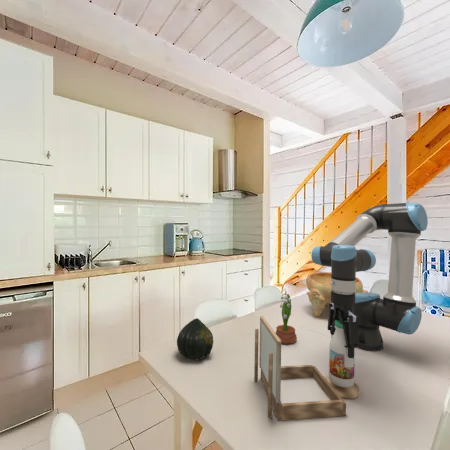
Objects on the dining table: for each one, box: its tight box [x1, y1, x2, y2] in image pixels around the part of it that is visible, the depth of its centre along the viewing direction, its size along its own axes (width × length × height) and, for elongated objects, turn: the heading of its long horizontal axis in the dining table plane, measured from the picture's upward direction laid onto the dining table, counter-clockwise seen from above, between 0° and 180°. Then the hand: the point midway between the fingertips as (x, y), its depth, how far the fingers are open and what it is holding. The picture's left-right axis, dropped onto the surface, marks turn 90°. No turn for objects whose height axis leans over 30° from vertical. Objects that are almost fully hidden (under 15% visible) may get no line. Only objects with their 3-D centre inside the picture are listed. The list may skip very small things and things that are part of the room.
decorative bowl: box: [305, 271, 370, 318], centre depth 164 cm, size 34×35×23 cm
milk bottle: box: [328, 320, 356, 387], centre depth 88 cm, size 8×8×20 cm
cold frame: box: [260, 364, 347, 421], centre depth 85 cm, size 20×20×4 cm
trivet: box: [324, 376, 361, 400], centre depth 89 cm, size 11×11×1 cm
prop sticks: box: [253, 328, 273, 419], centre depth 83 cm, size 1×18×18 cm, turn 6°
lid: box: [258, 315, 282, 405], centre depth 84 cm, size 1×20×18 cm, turn 7°
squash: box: [176, 317, 214, 361], centre depth 110 cm, size 14×15×15 cm
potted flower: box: [274, 288, 298, 345], centre depth 123 cm, size 12×10×25 cm
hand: (341, 359), depth 89 cm, fingers closed on milk bottle, 8 cm apart
